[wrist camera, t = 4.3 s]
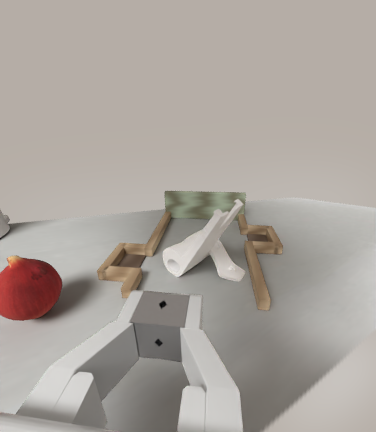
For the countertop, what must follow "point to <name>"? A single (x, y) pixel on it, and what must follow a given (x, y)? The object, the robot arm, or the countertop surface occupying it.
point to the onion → (28, 288)
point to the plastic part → (205, 248)
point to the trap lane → (197, 209)
